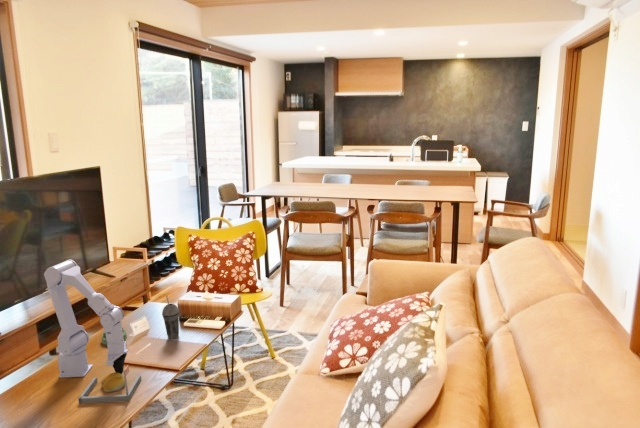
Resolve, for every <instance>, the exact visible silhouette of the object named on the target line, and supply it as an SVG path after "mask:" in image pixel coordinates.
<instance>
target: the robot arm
mask: <svg viewBox="0 0 640 428" xmlns="http://www.w3.org/2000/svg"><path fill="white" fill-rule="evenodd" d="M43 275H44V279H45V282H46V286H47V290H48V293H49V296H50V300H51V302H52V304H53V308H54V312H55V314H56V317H57V320H58V323H59V326H60V328H61V329H60V332H59V334H58V336H57V348H58V350H59V353H58V357H57V363H58V364H57V365H58V372H59V378H60V379H62V378H76V377H77V378H78V377H79V378H80V377H81V378H82V377H85V376H86V375H87V374H88V373H89V371H90V370H91V369H92V368H93V367H94V364H89V362H88V356H87V355H88V354H87V349H86V348H87V347H88V346H87V345H88V343H89V341H90V337H89V333H88V332H87V331H86V330H85V327H84V326H83V325H79V324H78V322H77V320H76V316H75V313H74V311H73V307H72V304H71V301H70V298H69V294H68V292H67V289H66V286H69V285H71V286H73V287H74V288H75V289H76V290H77V291H78V292H79V293H80V294H82V295H83V296H84V297H85V299H87V305H88V306H89V307H90V308H91V309H92V310H93V311H94V312H95V313H96V315H97V316H98V317H99V318H100V319H99V323H100V325H101V326H102V327H103V330H104V331H105V332H106V339H107V345H106V346H107V360H106V366H107V367H110V366H111V367H112V368H113V369H114V373H120V374H122V375H123V374H124V372H123V371H124V370H125V369H124V366H125V360H126V357H127V355H128V354H127V353H128V352H129V349H128V348H127V346H128V345H127V341H126V340H125V341H124V338H123V331H122V328H123V324H122V323H123V322H122V321H123V320H124V317H125V313H124V310H123V309H122V308H121V307H120V306H117V305H116V304H112V303H111V302H110V301H109V300H108V299H107V297H106V296H105V295H104V294H103V293H100V292H96V291H95V290H94V288H93V287H92V286H91V285H90V283H89V282H88V280H86V279H85V277H84V275H82V273H81V266H79V265H78V263H76V261H75V260H73V259H70V258H69V259H66V260H65V261H62V262H60V263H57V264H55V265H53V266H49V267H47V268H46V270H45V272H44V273H43Z"/></svg>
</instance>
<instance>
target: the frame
mask: <svg viewBox="0 0 640 428" xmlns="http://www.w3.org/2000/svg"><path fill="white" fill-rule="evenodd" d="M129 372H130V369H129V364H127V366H125V369H123V376H124V380H125V386H124V388H125V394H111V395H110V394H109V395H105V394H104V395H91V396H90V393H91V392H92V390H93V389H94V388H95V387H96V385H97V384H98V382H99V381H98V377H97V376H96V377H93V378H92V380H91V381H90V382H89V383H88V385H87V386H86V387H85V389H84V390H83V392H82V393H81V394H80V395H79V397H78V404H80V405H81V404H99V403H118V402H120V403H122V402H130V400H131V399H132V397H133V396H134V393H135V392H136V390H137V388H138V387H139V385H140V384H141V381H142V376H141V374H138V375H136V378H135V380H134V381H133V383H132V385H131V386H130V388H129V389H128V382H127V375H128V373H129Z"/></svg>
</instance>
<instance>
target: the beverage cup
mask: <svg viewBox="0 0 640 428" xmlns="http://www.w3.org/2000/svg"><path fill="white" fill-rule="evenodd" d="M165 296H166V297H165V299H166V302H167V304H166V305H164V307H163V309H162V313H161V315H162V317H163V321H164V326H165V331H166V336H167V338H168V340H171V341H173V340H177V339H179V337H180V336H179V334H180V333H179V332H180V326H179V324H180V323H179V320H180V310H179V307H178V306H177V305H176V304H174V303H170V302H169V298H168V295H165Z"/></svg>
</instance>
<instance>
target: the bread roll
mask: <svg viewBox="0 0 640 428" xmlns="http://www.w3.org/2000/svg"><path fill="white" fill-rule="evenodd" d="M100 382H101V384H100V385H101V387H102V389H103V391H104V392H107V393H109V392H110V393H113V392H117V391H120V390H121V389H123V388H125V380H124V374H123V373H122V374H120V373H116V372H111V373H109V374H107V375H106V376H104V377H103V379H102V380H101V381H100Z"/></svg>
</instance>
